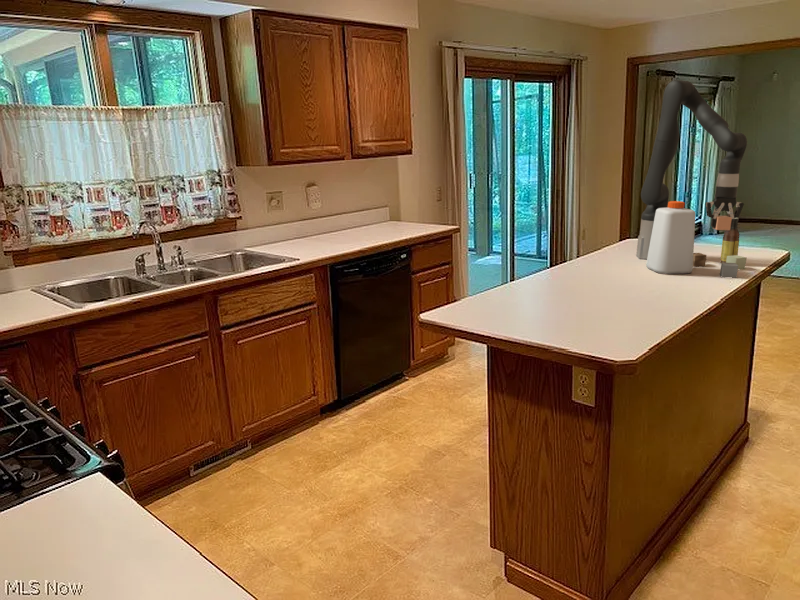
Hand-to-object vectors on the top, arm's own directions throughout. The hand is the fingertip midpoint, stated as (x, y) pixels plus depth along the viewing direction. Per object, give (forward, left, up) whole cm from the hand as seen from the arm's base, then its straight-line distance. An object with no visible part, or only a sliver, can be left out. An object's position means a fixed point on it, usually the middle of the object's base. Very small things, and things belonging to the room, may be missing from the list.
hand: (721, 227), depth 237 cm
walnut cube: (-5, +8, -17) cm, 20 cm away
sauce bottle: (+9, +12, -18) cm, 23 cm away
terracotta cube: (0, 0, 0) cm, 0 cm away
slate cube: (+1, -11, -17) cm, 21 cm away
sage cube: (+9, +4, -17) cm, 20 cm away
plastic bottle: (-19, -3, -18) cm, 26 cm away
